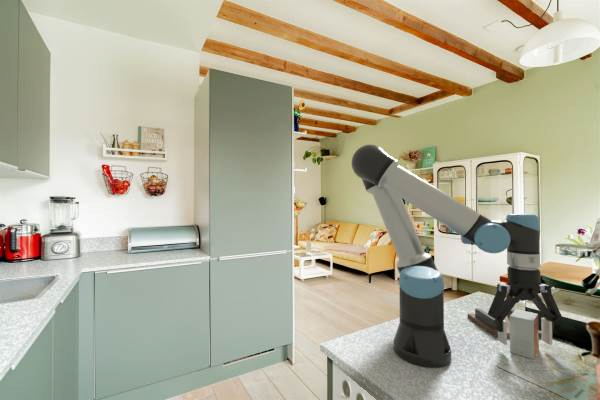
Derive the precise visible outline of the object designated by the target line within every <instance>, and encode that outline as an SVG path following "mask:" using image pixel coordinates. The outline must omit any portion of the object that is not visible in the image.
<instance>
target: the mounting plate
mask: <svg viewBox="0 0 600 400" xmlns="http://www.w3.org/2000/svg"><path fill="white" fill-rule="evenodd" d="M514 311H515V309H513V308H512V309H511V311H510V312H509V314H508V315H507V316H506V318H505V319H504V320H505V321H506V322H507V339H510V322H509V316H510V315H511V314H512V313H513V312H514ZM474 312H475V313H467V318H468V319H469V320H471V321H472V322H473V323H474V324H476V325H478V326H479V327H481V328H482V329H484V330H485V331H487V332H488V333H489V334H491V335H492V336H493V337H495V338H496V339H498V331H497V330H496V328H495V319H494V318H492V317H491V316H489V315H488V312H486V311H484V310H483V309H481V308H475V309H474ZM538 332H539V339H542V331H541V330H540V329H538Z"/></svg>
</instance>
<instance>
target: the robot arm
mask: <svg viewBox="0 0 600 400" xmlns="http://www.w3.org/2000/svg"><path fill="white" fill-rule="evenodd" d="M351 168H352V170H353V172H354V174H355V175H356V176H357V177H358V178H360V179H361V181H362V183H363V186H364V189H365V190H366V192H367V193H369V194H371V195H372V196H373V198H374V199H373V200H374V201H375V204H376V206H377V209H378V211H379V213H380V214H379V215H380V216H381V218H382V221H383V224H384V226H385V229H386V232H387V233H388V235H389V239H390V241H391V244H392V246H393V249H394V251H395V254H396V257H397V259H398V261H397V264H396V268H397V270H398V274H399V278H398V286H399V324H398V327H397V329H396V333H395V335H394V338H393V351H394V353H395V354H396V355H397V356H398V357H399V358H400V359H402V360H404V361H406V362H409V363H410V364H412V365H416V366H420V367H426V368H441V367H444V366H447V365H449V364H450V363H451V362H452V349H451V345H450V342H449V339H448V337H447V334H446V332H445V324H444V323H445V318H444V317H445V313H444V312H445V311H444V309H445V308H444V304H445V302H444V301H445V300H444V296H445V295H444V294H445V293H444V290H445V281H444V276H443V274H442V273H441V272H440V271H439V269H438V268H437V266H436V263H435V261H434V259H433V257H432V255H431V254H430V253H427V252H426V251H425V250H424V248H423V246H422V243H421V240H420V238H419V235H418V233H417V231H416V228H415V226H414V224H413V220H412V218H411V217H410V214H409V212H408V209H407V208H406V205H405V203H404V201H406V202H407V203H409V204H410V205H413V206H414V207H416V208H417V209H418V210H420V211H422V212H424V213H425V214H427V215H428V216H429V217H431V218H433V219H434V220H436V221H437V222H439V223H441V224H443V225H444V226H446V227H447V228H448V229H450V230H452V231H453V232H455V233H456V234H458V235H459V236H460V240H461V243H462V244H464V245H471V246H474V245H475V246H476V247H477V248H478V249H479V250H481V251H482V252H485V253H488V254H499V253H502V252H504V251H505V250H506V264H507V265H508V266H507V268H506V269H507V275H506V276H507V279H508V283H507V284H502V283H497V285H496V292H495V295H494V297H493V299H492V302H491V304H490V306H489V309H488V312H487V313H488V315H489V316H491V317H492V318H494V319H495V328H496V330H497V331H498V338H497V341H498V342H500V343H501V344H502V345H505V346H507V345H508V338H507V322H506V321H505V320H504V319H505V318H506V316H507V315H508V314H509V312H510V311H511V309H513V308H514V306H516V304H517V303H520V301H523V302H524V301H528V302H529V301H530V302H531V301H532V303H533V304H534V305H535V307H536V308H537V309H538V311H539V312H540V313H541V314H542V316H543V317H540V318H541V319H540V320H541V321H540V322H541V324H540V325H541V328H540V329H541V330H540V331H542V338H541V341H542V342H544V343H546V344H548V345H550V346H552V345H553V332H554V331H555V323H557V322H558V321H559V320H560V319H562V317H563V315H562V313H561V312H560V309H559V307H558V304H557V303H556V300H555V297H554V295H553V294H552V286H551V285H549V284H545V283H542V282H541V270H540V268H541V252H540V247H541V246H540V245H541V243H540V241H541V240H540V239H541V238H540V237H541V236H540V235H541V229H540V228H541V227H540V220H539V217H538V215H536V214H533V213H531V214H530V213H508V214H507V215H506V218H505V219H504V220H491V219H489V218H488V217H486V216H485V215H482V214H481V213H479V212H477V211H476V210H474V209H473V208H471V207H469V206H468V205H466V204H464V203H462V202H461V201H459V200H457V199H456V198H454V197H452V196H450V195H449V194H448V193H445V192H444V191H442V190H441V189H439V188H438V187H436V186H434V185H432V184H431V183H429V182H427V181H426V180H424V179H422V178H420V177H419V176H417V175H416V174H414V173H412V172H411V171H409V170H408V169H406V168H404V167H403V166H401V165H400V164H399V161H398V159H396V158H394V157H393V156H391V155H389V154H388V153H387V152H386V151H385V150H384V149H383V148H382V147H381V146H378V145H375V144H365V145H362V146H360V147H359V148H358V149H357V150H355V152H354V153H353V155H352V158H351ZM539 292H540V294H541V296H542V297H541V296H540V295H539ZM543 301H544V302H543ZM558 319H559V320H558Z"/></svg>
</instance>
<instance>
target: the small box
mask: <svg viewBox="0 0 600 400" xmlns="http://www.w3.org/2000/svg"><path fill="white" fill-rule="evenodd" d="M514 310H515V311H514V312H513V313H512V314H511V315H510V316H509V322H510V338H509V352H510V353H512V354H516V355H519V356H522V357H525V358H529V359H532V360H535V359H536V356H537V354H538V353H539V350H540V349H539V347H540V345H539V344H540V343H539V340H540V338H539V332H538V330H540V329H539V327H540V326H539V314H538V313H535V312H531V311H527V310H526V311H525V310H522V309H518V308H517V309H516V308H515V309H514Z"/></svg>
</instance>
